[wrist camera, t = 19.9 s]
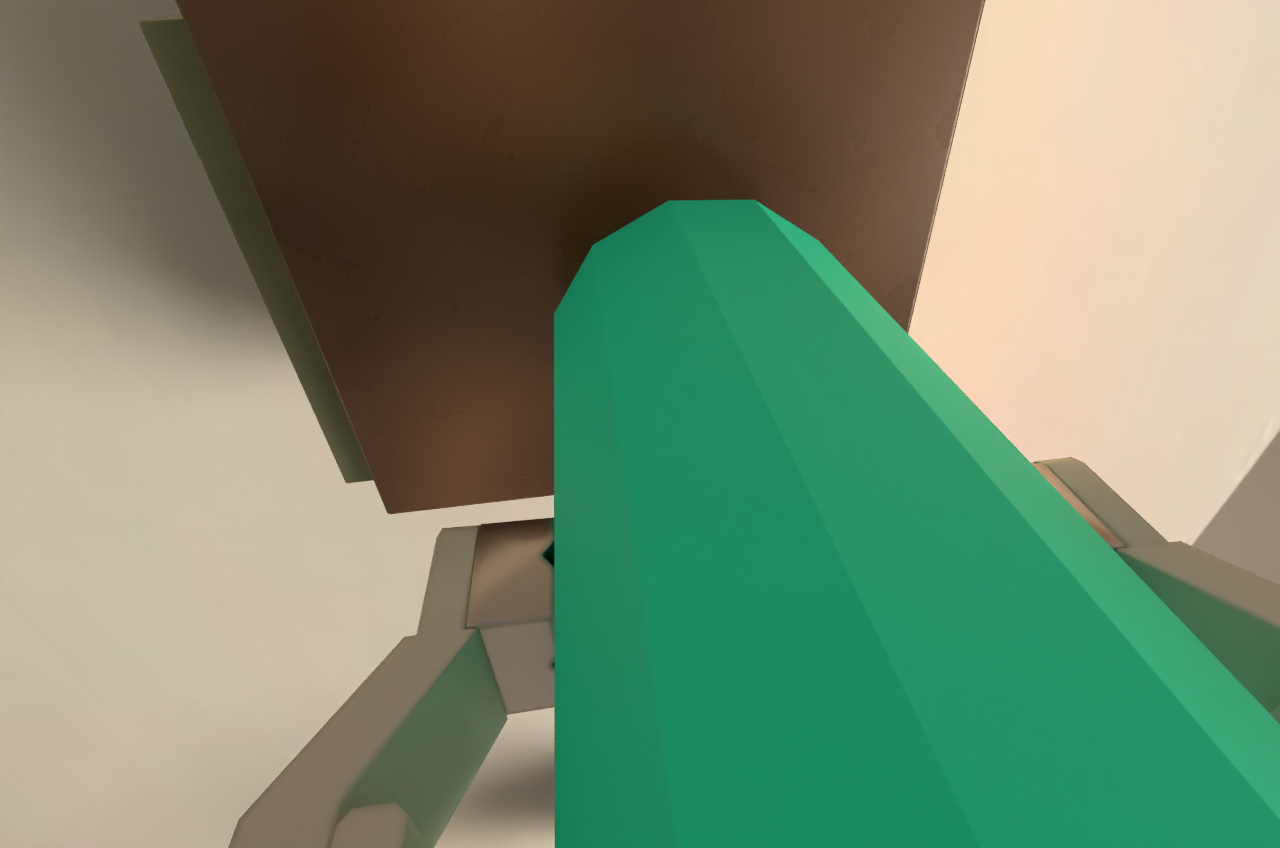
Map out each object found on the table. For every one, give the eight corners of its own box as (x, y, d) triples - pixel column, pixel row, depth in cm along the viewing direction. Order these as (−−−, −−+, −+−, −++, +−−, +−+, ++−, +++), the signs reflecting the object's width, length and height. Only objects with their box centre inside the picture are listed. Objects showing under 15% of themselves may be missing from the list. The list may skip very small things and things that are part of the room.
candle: (590, 154, 10) (1009, 2331, 1) (897, 239, 12) (2303, 1370, 2) (525, 435, 14) (461, 1544, 4) (773, 475, 15) (1150, 1353, 6)
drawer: (359, 366, 24) (303, 488, 18) (223, 3, 17) (67, 26, 11) (743, 327, 25) (798, 432, 19) (762, -34, 18) (856, -29, 12)
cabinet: (432, 361, 25) (387, 515, 18) (316, -32, 17) (163, -23, 10) (792, 324, 26) (880, 458, 19) (833, -65, 18) (1005, -77, 11)
